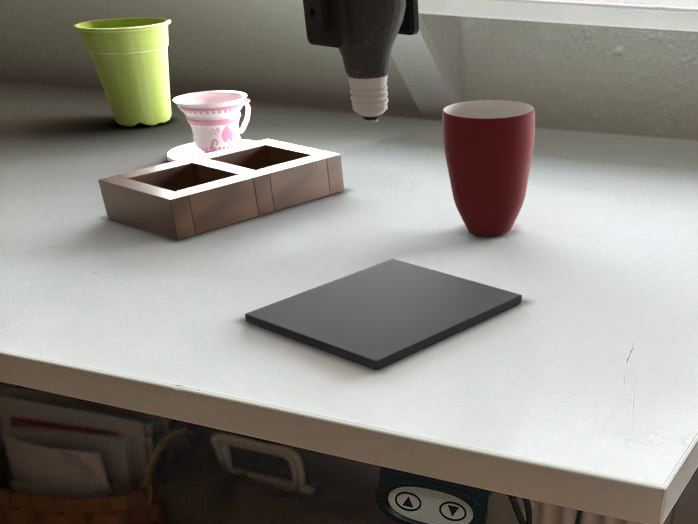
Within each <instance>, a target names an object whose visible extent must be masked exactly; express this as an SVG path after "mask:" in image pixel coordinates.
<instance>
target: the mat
mask: <svg viewBox="0 0 698 524" xmlns="http://www.w3.org/2000/svg"><path fill="white" fill-rule="evenodd" d="M521 303H523V295H522V294H520V293H516V292H513V291H510V290H506V289H502V288H498V287H496V286H492V285H487V284H484V283H481V282H477V281H473V280H472V279H471V280H470V279H467V278H463V277H459V276H456V275H452V274H448V273H446V272H442V271H438V270H435V269H431V268H427V267H425V266H421V265H417V264H413V263H410V262H407V261H402V260H399V259H396V258H391V259H388V260H385V261H382V262H380V263H377V264H374V265H372V266H369V267H366V268H364V269H361V270H358V271H356V272H354V273H350V274H347V275H345V276H343V277H340V278H337V279H334V280H331V281H329V282H326V283H324V284H321V285H318V286H315V287H313V288H311V289H308V290H305V291H302V292H300V293H297V294H295V295H292V296H289V297H286V298H283V299H281V300H278V301H275V302H273V303H270V304H267V305H265V306H262V307H259V308H257V309H254V310H252V311H249V312H246V313H244V317H245V318H244V319H245V322H247V323H248V324H249V323H250V324H252V325H255V326H258V327H260V328H263V329H266V330H269V331H271V332H274V333H276V334H280V335H282V336H285V337H288V338H291V339H293V340H296V341H298V342H301V343H304V344H307V345H309V346H312V347H315V348H317V349H320V350H323V351H325V352H328V353H331V354H334V355H337V356H340V357H342V358H345V359H347V360H350V361H353V362H356V363H359V364H361V365H364V366H367V367H369V368H371V369H374V370H379V369H381V368H383V367H386V366H388V365H389V364H393V363H394V362H396V361H398V360H401V359H403V358H405V357H407V356H409V355H411V354H413V353H415V352H418V351H420V350H422V349H425V348H426V347H429V346H431V345H433V344H435V343H437V342H439V341H441V340H444V339H446V338H448V337H450V336H452V335H454V334H456V333H459V332H460V331H464V330H465V329H467V328H469V327H472V326H475V324H478V323H481V322H483V321H484V320H485V321H486V319H489V318H491V317H494V316H495V315H497V314H499V313H502V312H504V311H506V310H508V309H510V308H513V307H515V306H517V305H519V304H521Z"/></svg>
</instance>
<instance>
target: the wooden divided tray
mask: <svg viewBox="0 0 698 524" xmlns="http://www.w3.org/2000/svg"><path fill="white" fill-rule="evenodd" d="M255 141H256V142H252V143H248V144H244V145H240V146H236V147H232V148H227V149H223V150H219V151H215V152H211V153H207V154H202V155H198V156H194V157H190V158H186V159H182V160H177V161H173V162H171V161H169V162H166V163H160V164H157V165H152V166H149V167H144V168H141V169H136V170H131V171H128V172H127V171H126V172H123V173H119V174H116V175H111V176H107V177H103V178H99V179H98V185H99V189H100V191H101V196H102V200H103V205H104V208H105V213H106V217H107V218H108V219H109V220H113V221H117V222H119V223H122V224H126V225H130V226H132V227H136V228H138V229H141V230H145V231H148V232H151V233H155V234H157V235H161V236H164V237H166V238H169V239H173V240H177V241H181V240H184V239H187V238H190V237H194V236H197V235H200V234H204V233H208V232H210V231H214V230H217V229H220V228H224V227H228V226H230V225H234V224H237V223H241V222H244V221H248V220H251V219H254V218H258V217H260V216H263V215H267V214H271V213H274V212H278V211H280V210H284V209H287V208H291V207H294V206H298V205H301V204H304V203H308V202H310V201H314V200H317V199H321V198H323V197H328V196H331V195H334V194H337V193H340V192H341V193H342V192H345V184H344V176H343V175H344V174H343V173H344V172H343V165H342V163H343V162H342V154H341V153H337V152H332V151H329V150H322V149H319V148H314V147H308V146H305V145H304V146H303V145H299V144H294V143H290V142H285V141H280V140H275V139H270V138H265V139H260V140H255Z"/></svg>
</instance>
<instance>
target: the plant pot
mask: <svg viewBox="0 0 698 524" xmlns="http://www.w3.org/2000/svg"><path fill="white" fill-rule="evenodd" d="M171 23H172V20H171V19H170V18H165V17H155V16H153V17H152V16H151V17H149V16H148V17H147V16H142V17H141V16H140V17H139V16H138V17H137V16H136V17H135V16H134V17H115V18H113V17H112V18H101V19H94V20H93V19H92V20H87V21H82V22H76V23H75V24H74V25H73V28H74V29H75V30H77V31H79V34H80V37H81V39H82V41H83V44H84V47H85V49H86V50H87V51H88V52H89V55H90V58H91V61H92V63H93V65H94V68H95V71H96V74H97V76H98V79H99V81H100V84H101V87H102V89H103V91H104V94H105V98H106V100H107V102H108V105H109V107H110V110H111V112H112V116H113V117H114V121H115V122H116V123H117V125H118V124H119V125H120V126H126V127H133V126H134V127H135V126H136V125H138V124H143V125H145V126H156V125H158V124H165V123H167V122H168V121H170V120H171V118H172V103H171V87H170V72H169V71H170V70H169V69H170V68H169V53H168V52H169V51H168V47H169V45H170V44H169V25H170V24H171Z"/></svg>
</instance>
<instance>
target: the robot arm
mask: <svg viewBox="0 0 698 524" xmlns="http://www.w3.org/2000/svg"><path fill="white" fill-rule="evenodd" d="M302 6H303V7H302V8H303V16H304V22H305V23H304V24H305V32H306V39H307V42H308V43H309V44H310V45H312V46H320V47H328V48H334V49H336V48H337V49H339V48H341V47H346V46H347V44H348V42H349V36H348V24H347V13H346V1H345V0H302ZM419 14H420V13H419V0H406V8H405V12H404V17H403V21H402V24H401V26H400V29H399V31H398V34H397V35H404V36H415V35H417V34H419V31H420V15H419Z"/></svg>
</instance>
